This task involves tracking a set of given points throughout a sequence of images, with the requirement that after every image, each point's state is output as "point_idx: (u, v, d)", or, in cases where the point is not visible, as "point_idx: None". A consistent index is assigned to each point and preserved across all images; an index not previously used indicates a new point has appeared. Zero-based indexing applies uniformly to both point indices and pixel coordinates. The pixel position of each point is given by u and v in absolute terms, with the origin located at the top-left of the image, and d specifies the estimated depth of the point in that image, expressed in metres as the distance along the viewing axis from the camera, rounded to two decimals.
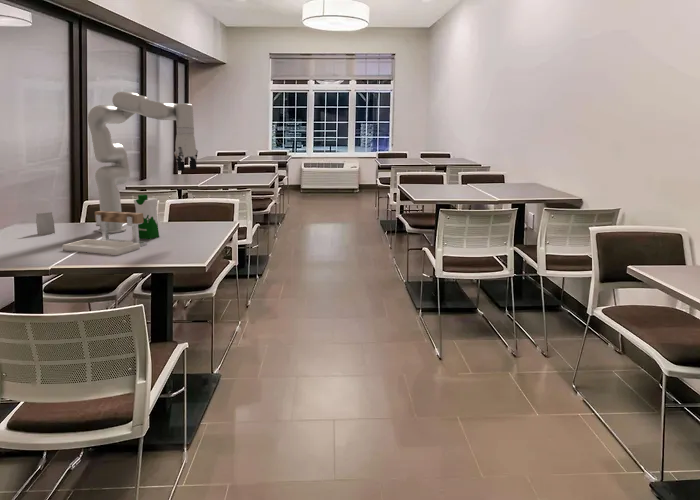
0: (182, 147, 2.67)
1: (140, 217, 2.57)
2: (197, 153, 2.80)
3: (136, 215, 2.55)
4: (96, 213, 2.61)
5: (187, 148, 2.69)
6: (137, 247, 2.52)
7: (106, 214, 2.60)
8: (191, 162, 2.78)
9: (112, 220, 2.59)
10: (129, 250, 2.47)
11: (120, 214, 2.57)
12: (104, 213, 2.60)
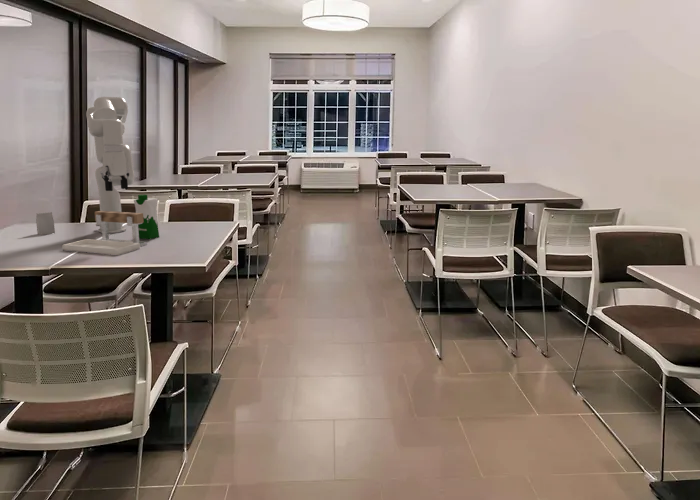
0: (109, 166, 2.51)
1: (140, 217, 2.57)
2: (129, 172, 2.64)
3: (136, 215, 2.55)
4: (96, 213, 2.61)
5: (115, 167, 2.53)
6: (137, 247, 2.52)
7: (106, 214, 2.60)
8: (122, 181, 2.61)
9: (112, 220, 2.59)
10: (129, 250, 2.47)
11: (120, 214, 2.57)
12: (104, 213, 2.60)
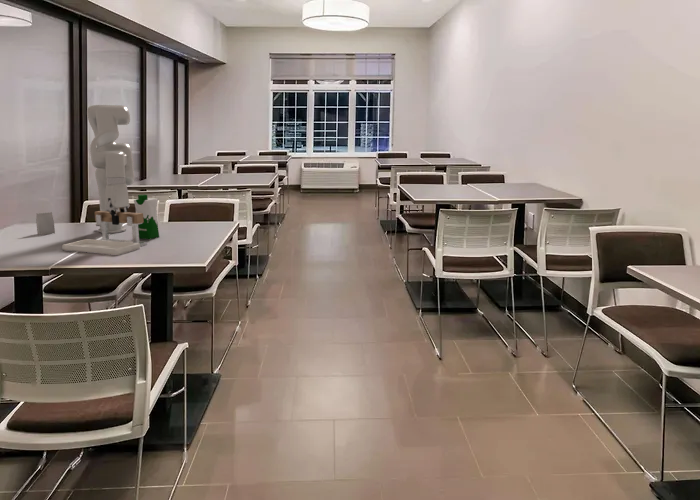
0: (112, 198, 2.54)
1: (140, 217, 2.57)
2: (128, 207, 2.65)
3: (136, 215, 2.55)
4: (96, 213, 2.61)
5: (117, 199, 2.55)
6: (137, 247, 2.52)
7: (106, 214, 2.60)
8: None
9: None
10: (129, 250, 2.47)
11: (120, 214, 2.57)
12: (104, 213, 2.60)
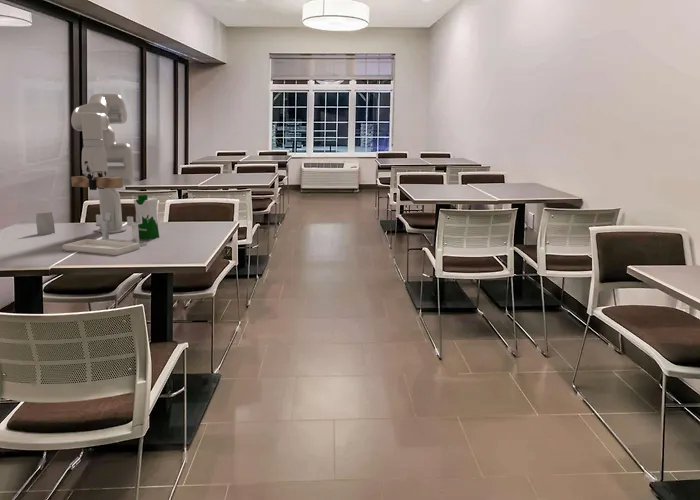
0: (88, 161, 2.39)
1: (119, 181, 2.43)
2: (107, 172, 2.51)
3: (114, 179, 2.41)
4: (73, 178, 2.47)
5: (95, 162, 2.41)
6: (137, 247, 2.52)
7: (83, 179, 2.45)
8: None
9: None
10: (129, 250, 2.47)
11: (98, 178, 2.43)
12: (81, 178, 2.46)
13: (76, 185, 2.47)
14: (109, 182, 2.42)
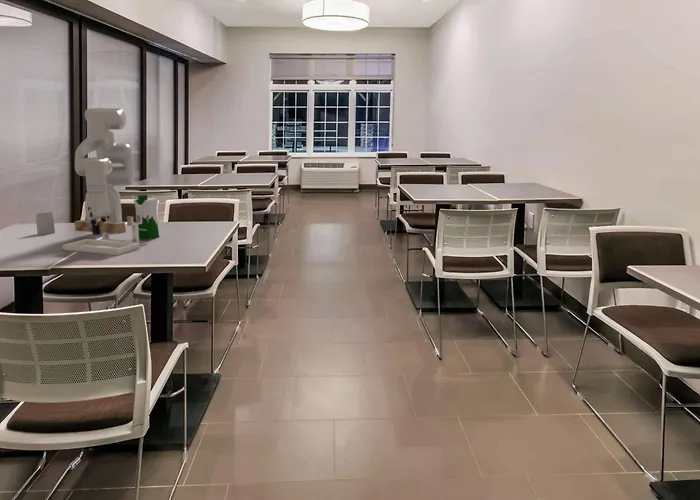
0: (92, 207, 2.43)
1: (122, 227, 2.46)
2: (110, 216, 2.54)
3: (117, 225, 2.44)
4: (76, 222, 2.50)
5: (98, 208, 2.45)
6: (137, 247, 2.52)
7: (86, 224, 2.49)
8: None
9: None
10: (129, 250, 2.47)
11: (101, 224, 2.46)
12: (84, 223, 2.49)
13: (79, 229, 2.51)
14: (112, 228, 2.45)
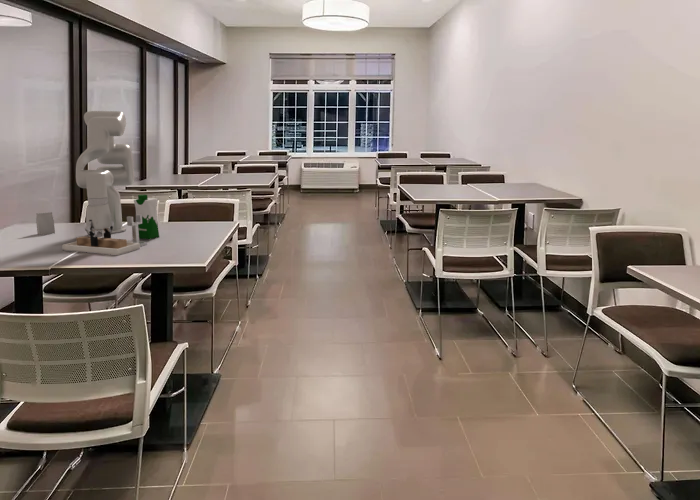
0: (93, 220, 2.44)
1: (123, 244, 2.48)
2: (113, 225, 2.56)
3: (119, 242, 2.46)
4: (78, 239, 2.52)
5: (99, 220, 2.46)
6: (137, 247, 2.52)
7: (88, 240, 2.51)
8: (105, 235, 2.54)
9: None
10: (129, 250, 2.47)
11: (102, 241, 2.48)
12: (86, 239, 2.51)
13: None
14: (114, 245, 2.47)
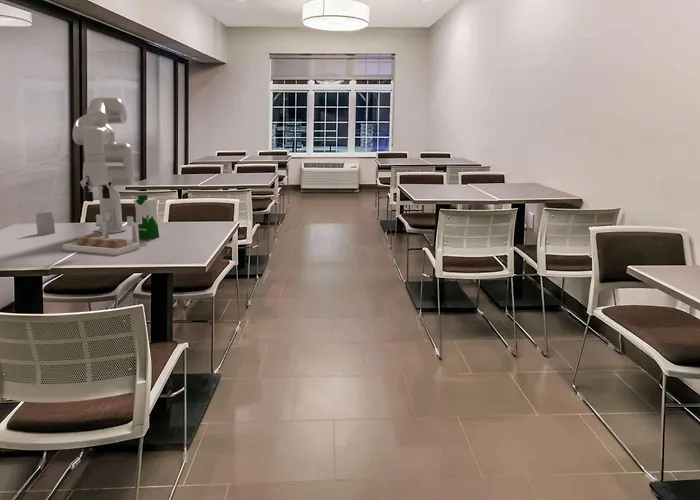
0: (90, 176, 2.42)
1: (123, 244, 2.48)
2: (111, 181, 2.55)
3: (119, 242, 2.46)
4: (78, 239, 2.52)
5: (96, 177, 2.44)
6: (137, 247, 2.52)
7: (88, 240, 2.51)
8: (104, 191, 2.53)
9: None
10: (129, 250, 2.47)
11: (102, 241, 2.48)
12: (86, 239, 2.51)
13: None
14: (114, 245, 2.47)
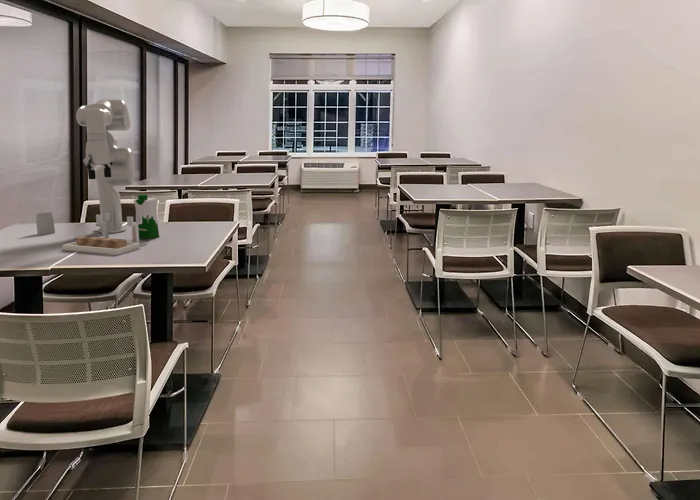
0: (92, 154, 2.55)
1: (123, 244, 2.48)
2: (112, 160, 2.68)
3: (119, 242, 2.46)
4: (78, 239, 2.52)
5: (98, 155, 2.57)
6: (137, 247, 2.52)
7: (88, 240, 2.51)
8: (105, 170, 2.65)
9: None
10: (129, 250, 2.47)
11: (102, 241, 2.48)
12: (86, 239, 2.51)
13: None
14: (114, 245, 2.47)
